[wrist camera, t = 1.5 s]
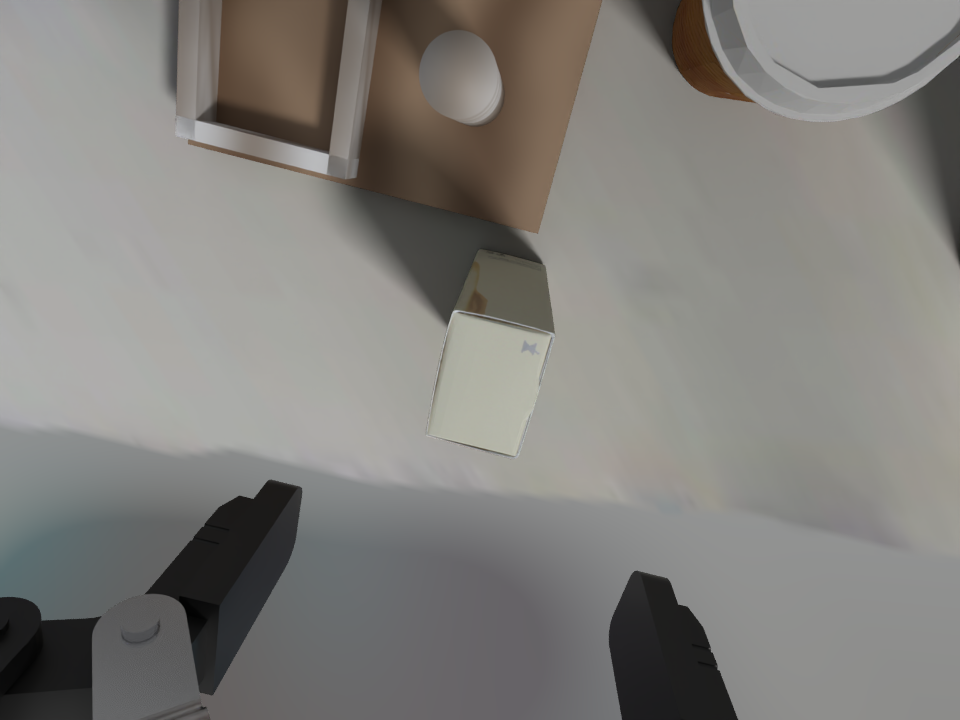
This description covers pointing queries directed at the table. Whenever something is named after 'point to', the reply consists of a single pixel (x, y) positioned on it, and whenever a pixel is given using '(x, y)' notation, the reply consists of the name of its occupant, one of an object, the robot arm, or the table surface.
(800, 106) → the disposable coffee cup
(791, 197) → the table surface
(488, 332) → the skincare box
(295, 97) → the pin board
